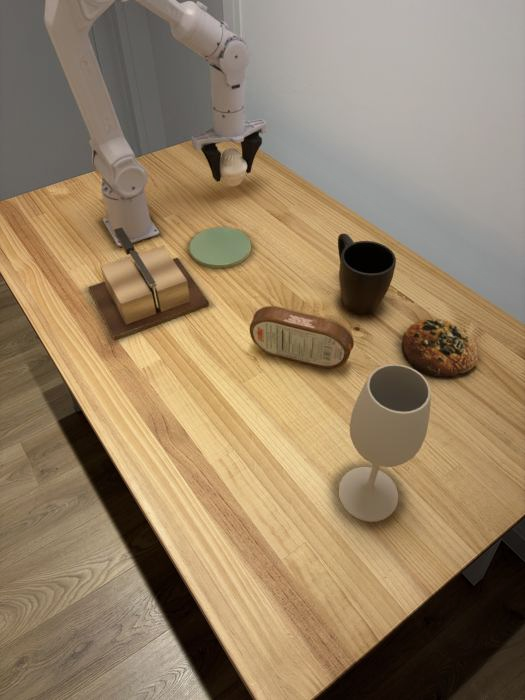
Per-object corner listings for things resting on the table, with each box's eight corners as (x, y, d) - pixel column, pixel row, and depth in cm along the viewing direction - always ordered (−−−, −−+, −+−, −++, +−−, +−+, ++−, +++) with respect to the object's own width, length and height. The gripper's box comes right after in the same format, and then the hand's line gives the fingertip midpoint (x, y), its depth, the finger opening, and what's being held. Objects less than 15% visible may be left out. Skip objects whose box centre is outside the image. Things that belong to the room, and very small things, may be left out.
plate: (180, 241, 101) (179, 237, 100) (234, 224, 104) (233, 220, 104) (205, 276, 94) (204, 272, 94) (261, 256, 98) (261, 252, 97)
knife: (119, 252, 96) (113, 227, 92) (127, 249, 97) (121, 225, 93) (153, 310, 86) (148, 285, 83) (162, 307, 87) (157, 282, 83)
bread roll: (393, 366, 80) (401, 340, 77) (406, 323, 88) (415, 298, 85) (470, 390, 78) (482, 364, 75) (477, 344, 86) (488, 319, 83)
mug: (359, 268, 96) (366, 222, 89) (395, 313, 88) (406, 266, 81) (316, 280, 94) (320, 233, 87) (350, 327, 86) (357, 280, 79)
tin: (350, 362, 81) (357, 321, 75) (345, 377, 79) (352, 337, 73) (254, 338, 85) (253, 297, 78) (247, 352, 83) (246, 312, 77)
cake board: (89, 290, 92) (81, 265, 88) (178, 260, 97) (174, 236, 93) (114, 340, 85) (106, 315, 81) (209, 305, 90) (206, 280, 86)
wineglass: (331, 468, 70) (350, 360, 54) (391, 464, 70) (427, 354, 54) (342, 526, 65) (367, 424, 49) (406, 520, 65) (451, 418, 49)
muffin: (252, 178, 110) (252, 145, 105) (239, 193, 107) (238, 160, 102) (225, 171, 112) (223, 138, 107) (211, 186, 109) (208, 153, 103)
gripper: (200, 124, 94) (206, 194, 104) (275, 105, 98) (273, 174, 108) (184, 107, 98) (191, 176, 108) (256, 90, 102) (256, 158, 112)
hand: (231, 174), depth 108 cm, fingers closed on muffin, 6 cm apart
